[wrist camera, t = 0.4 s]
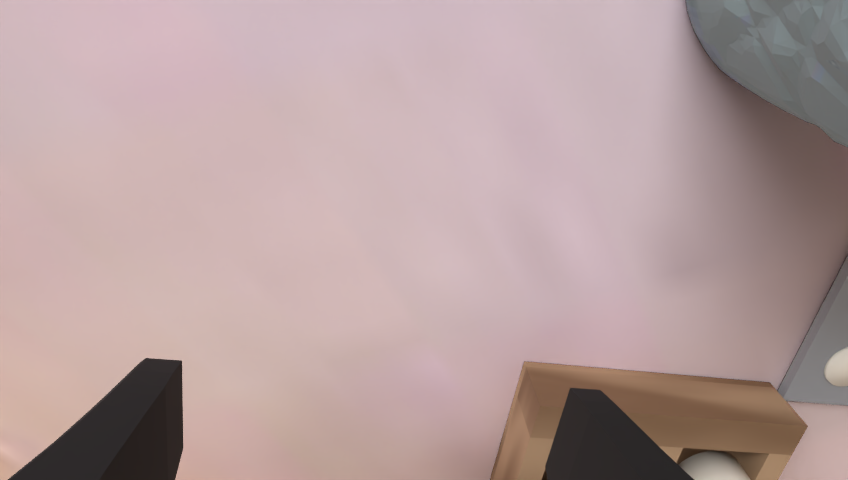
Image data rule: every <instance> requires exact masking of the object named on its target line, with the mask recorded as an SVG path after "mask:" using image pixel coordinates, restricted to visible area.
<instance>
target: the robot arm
mask: <svg viewBox="0 0 848 480" xmlns="http://www.w3.org/2000/svg"><path fill="white" fill-rule="evenodd" d="M182 450H183V406H182V361H178V360H164V359H149V358H146V359H144V360H143V361H142V362H140V363H139V364H138V365H137V366H136V367H135V368H134V369H133V370H132V371H131V372H130V373H129V374H128V375H127V376H126V377H125V378H124V379H122V380H121V381H120V382H119V383H118V384H117V385H116V386H115V387H114V388H113V389H112V390H111V391H110V392H109V393H108V394H107V395H106V396H105V397H104V398H103V399H102V400H100V401H99V402H98V403H97V404H96V405H95V406H94V407H93V408H92V409H91V410H90V411H89V412H87V413H86V414H85V415H84V416H83V417H82V418H81V419H80V420H79V421H77V422H76V423H75V424H74V425H73V426H72V427H71V428H70V429H68V430H67V431H66V432H65V433H64V434H63V435H62V436H61V437H59V438H58V439H57V440H56V441H55V442H54V443H52V444H51V445H50V446H49V447H48V448H46V449H45V450H44V451H43V452H41V453H40V454H39V455H38V456H37V457H35V458H34V459H33V460H32V461H30V462H29V463H28V464H27V465H25V466H24V467H23V468H22V469H20V470H19V471H18V472H17V473H16V474H14V475H13V476H12V477H11V478H9V479H8V480H175V478H176V474H177V470H178V466H179V462H180V458H181V454H182ZM545 468H546V474H547V479H548V480H694V479H693V478H692V477H691V476H690V475H688V474H687V473H686V472H685V471H684V470H683V469H682V468H681V467H680V466H679V465H678V464H677V463H676V462H675V461H674V460H673V459H671V458H670V457H669V456H668V455H667V454H666V453H665V452H664V451H663V450H662V449H661V448H660V447H659V446H658V445H657V444H656V443H655V442H654V441H653V440H652V439H651V438H650V437H649V436H648V435H647V434H646V433H645V432H644V431H643V430H642V429H641V428H640V427H639V426H638V425H637V424H636V423H635V422H634V421H632V420H631V419H630V418H629V417H628V416H627V415H626V414H625V413H624V412H623V411H622V410H621V409H620V408H619V407H618V406H617V405H616V404H615V403H614V402H613V401H612V400H611V399H610V398H609V397H608V396H607V395H605V394H604V393H603V392H602V391H601V390H596V389H581V388H570V390H569V393H568V396H567V399H566V402H565V405H564V409H563V412H562V415H561V418H560V421H559V424H558V427H557V431H556V434H555V437H554V440H553V443H552V446H551V449H550V453H549V456H548V459H547V462H546V465H545Z"/></svg>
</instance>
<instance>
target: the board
mask: <svg viewBox="0 0 848 480" xmlns="http://www.w3.org/2000/svg"><path fill="white" fill-rule="evenodd" d="M570 388H581V389H596V390H601V391H602V392H603V393H604V394H605V395H607V396H608V397H609V398H610V399H611V400H612V401H613V402H614V403H615V404H616V405H617V406H618V407H619V408H620V409H621V410H622V411H623V412H624V413H625V414H626V415H627V416H628V417H629V418H630V419H631V420H632V421H634V422H635V423H636V424H637V425H638V426H639V427H640V428H641V429H642V430H643V431H644V432H645V433H646V434H647V435H648V436H649V437H650V438H651V439H652V440H653V441H654V442H655V443H656V444H657V445H658V446H659V447H660V448H661V449H662V450H663V451H664V452H665V453H666V454H667V455H668V456H669V457H670V458H671V459H673V460H674V461H675V462H676V463H677V464H678V465H679V464H680V463H681V462H682V461H684V460H685V459H687V458H689V457H691V456H693V455H695V454H698V453H701V452H706V451H722V452H726V453H729V454H731V455H732V456H734V457H735V458H736V459H737V460H738V462H739V463H740V465H741V466H742V468H743V469H744V471H745V472H746V474H747V475H748V477H749V478H750V479H751V480H778V478H779V477H780V475H781V473H782V471H783V469H784V468H785V466H786V464H787V462H788V461H789V459H790V457H791V455H792V453H793V452H794V450H795V448H796V446H797V444H798V443H799V441H800V439H801V437H802V436H803V434H804V432H805V430H806V428H807V427H808V426H807V425H806V424H805V422H804V421H803V420H802V419H801V418H800V417H799V416H798V414H797V413H796V412H795V411H794V410H793V409H792V408H791V406H790V405H789V404H788V403H787V402H786V401H785V399H784V398H783V397H782V396H781V395H780V394H779V393H778V391H777V390H776V389H775V388H774V387H773V386H772V385H771V383H769V382H757V381H745V380H734V379H722V378H710V377H699V376H687V375H676V374H664V373H652V372H641V371H629V370H617V369H606V368H594V367H582V366H571V365H559V364H547V363H536V362H524V364H523V368H522V371H521V375H520V378H519V381H518V385H517V388H516V392H515V395H514V399H513V402H512V406H511V409H510V412H509V416H508V419H507V423H506V426H505V430H504V433H503V437H502V440H501V443H500V447H499V450H498V454H497V457H496V461H495V464H494V468H493V471H492V475H491V478H490V480H547V477H546V475H547V474H546V468H545V465H546V462H547V459H548V456H549V453H550V449H551V446H552V443H553V440H554V437H555V434H556V431H557V427H558V424H559V421H560V418H561V415H562V412H563V409H564V405H565V402H566V399H567V396H568V393H569V390H570Z"/></svg>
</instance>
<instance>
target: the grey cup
mask: <svg viewBox="0 0 848 480" xmlns="http://www.w3.org/2000/svg"><path fill="white" fill-rule="evenodd" d="M686 6H687V12H688V15H689V18H690V21H691V24H692V27H693V29H694V32H695V34H696V35H697V37H698V39H699V41H700V43H701V44H702V46H703V48H704V49H705V51H706V52H707V54H708V55H709V57H710V58H711V59H712V61H713V62H714V63H715V64H716V65H717V66H718V68H719V69H720V70H721V71H723V72H724V73H725V74H726V75H728V76H729V77H731V78H732V79H733V80H735V81H736V82H738V83H739V84H740V85H742V86H744V87H745V88H747V89H748V90H750V91H751V92H753V93H755V94H756V95H758V96H759V97H761V98H762V99H764V100H766V101H768V102H770V103H771V104H773V105H775V106H777V107H778V108H780V109H782V110H784V111H786V112H788V113H790V114H792V115H794V116H796V117H798V118H800V119H802V120H804V121H806V122H809V123H811V124H814V125H816V126H818V127H820V128H821V129H822V130H823V131H824V132H825V133H826V134H827V135H828V136H829V137H830V138H831V139H832V140H833V141H834V142H837V143H839V144H841V145H844V146H846V147H848V0H686Z"/></svg>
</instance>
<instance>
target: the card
mask: <svg viewBox="0 0 848 480" xmlns="http://www.w3.org/2000/svg"><path fill="white" fill-rule="evenodd" d="M778 393H779V394H780V395H781V396H782V397H783V398H784V399H785V401H796V402H808V403H820V404H833V405H845V406H848V256H847V258H846V260H845V261H844V263H843V265H842V267H841V269H840V271H839V273H838V275H837V277H836V279H835V281H834V283H833V285H832V287H831V289H830V290H829V292H828V294H827V296H826V298H825V300H824V302H823V304H822V306H821V308H820V310H819V312H818V314H817V316H816V318H815V319H814V321H813V323H812V325H811V327H810V329H809V331H808V333H807V335H806V337H805V339H804V341H803V343H802V345H801V347H800V348H799V350H798V352H797V354H796V356H795V358H794V360H793V362H792V364H791V366H790V368H789V370H788V372H787V374H786V376H785V377H784V379H783V381H782V383H781V385H780V387H779V389H778Z"/></svg>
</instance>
